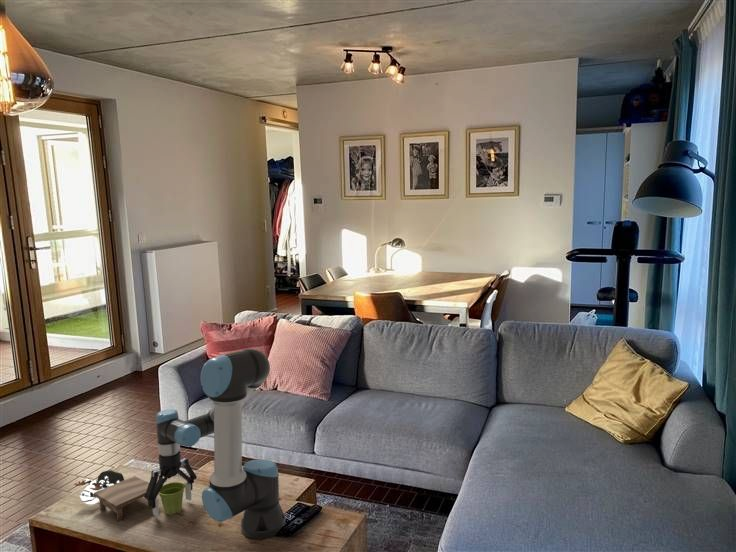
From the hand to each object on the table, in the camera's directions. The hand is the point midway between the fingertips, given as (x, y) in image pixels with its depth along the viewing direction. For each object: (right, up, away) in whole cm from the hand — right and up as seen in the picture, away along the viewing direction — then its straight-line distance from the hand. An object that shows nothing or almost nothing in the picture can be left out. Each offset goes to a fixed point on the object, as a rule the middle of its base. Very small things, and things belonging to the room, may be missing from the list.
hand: (172, 507), depth 198 cm
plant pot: (0, -1, 0) cm, 1 cm away
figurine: (-32, -1, +11) cm, 34 cm away
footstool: (-18, -1, +3) cm, 18 cm away
